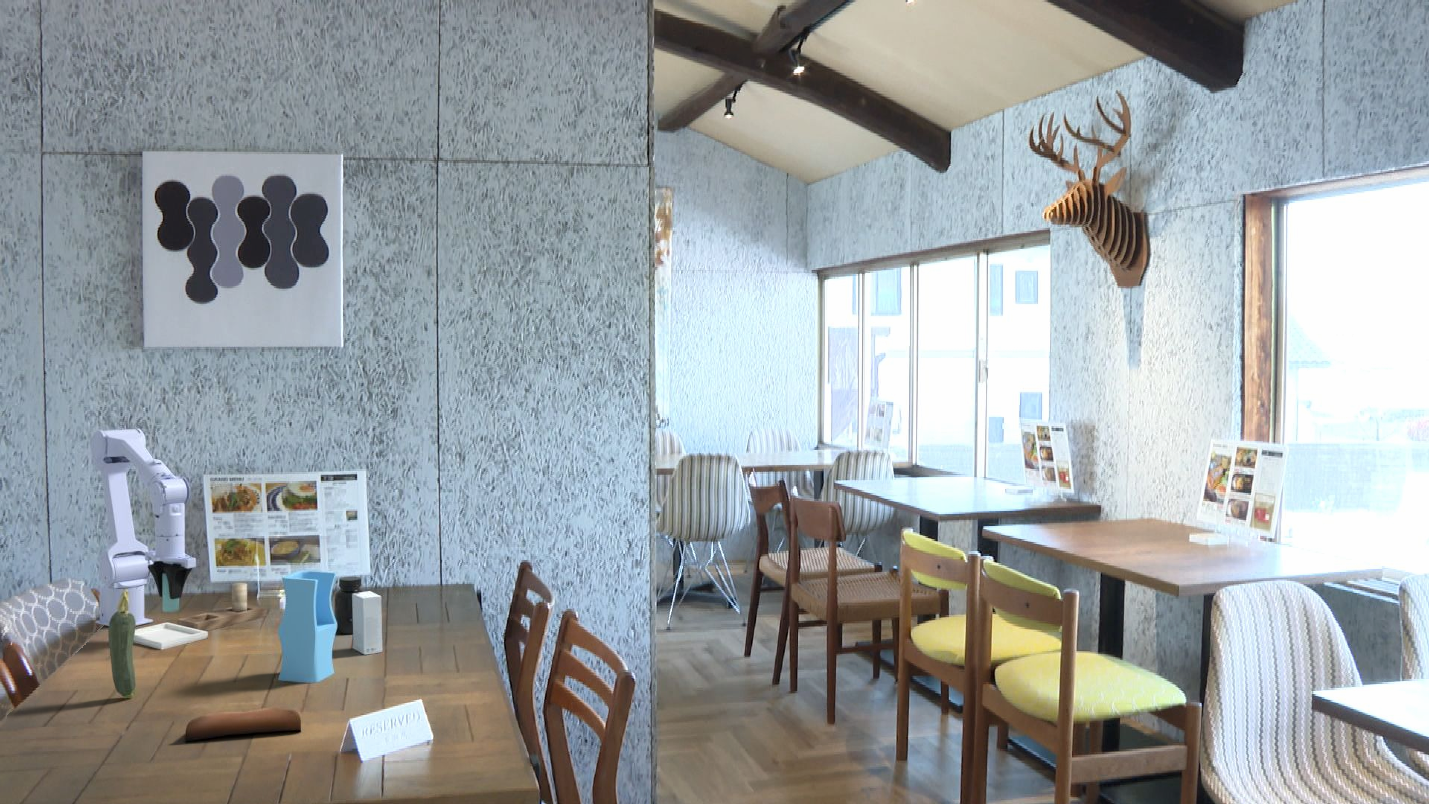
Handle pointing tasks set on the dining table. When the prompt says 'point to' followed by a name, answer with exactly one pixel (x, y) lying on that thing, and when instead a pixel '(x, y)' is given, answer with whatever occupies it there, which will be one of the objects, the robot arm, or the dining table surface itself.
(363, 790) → the dining table surface
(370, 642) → the skincare box
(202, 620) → the rack
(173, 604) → the teal dowel
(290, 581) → the vase
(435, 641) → the dining table surface
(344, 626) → the supplement bottle
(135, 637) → the tray
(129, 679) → the vegetable
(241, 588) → the birch dowel
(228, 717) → the sunglasses case
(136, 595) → the robot arm
